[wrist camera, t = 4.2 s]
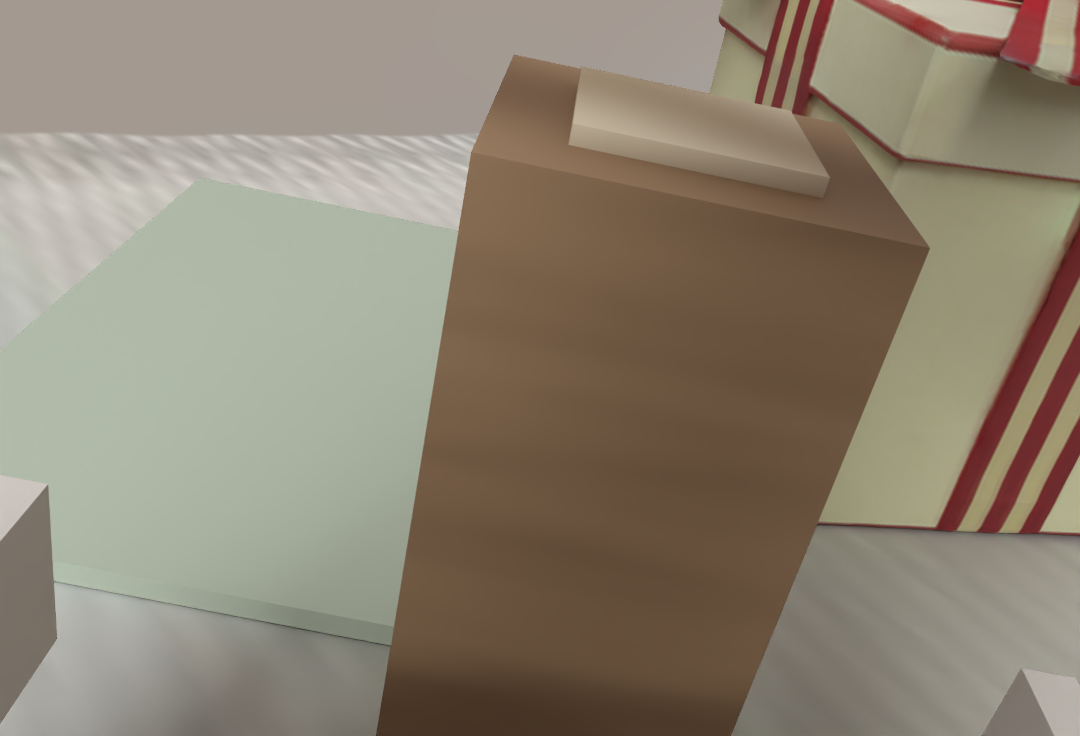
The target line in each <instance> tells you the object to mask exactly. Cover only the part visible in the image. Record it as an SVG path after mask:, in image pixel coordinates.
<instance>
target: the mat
mask: <svg viewBox="0 0 1080 736" xmlns="http://www.w3.org/2000/svg"><path fill="white" fill-rule="evenodd" d="M457 237H458V231H457V230H452V229H447V228H442V227H437V226H432V225H427V224H423V223H418V222H413V221H408V220H403V219H398V218H393V217H389V216H384V215H379V214H374V213H369V212H364V211H359V210H355V209H350V208H345V207H340V206H335V205H330V204H325V203H321V202H316V201H311V200H306V199H301V198H296V197H291V196H286V195H282V194H277V193H272V192H267V191H262V190H257V189H252V188H248V187H243V186H238V185H233V184H228V183H223V182H218V181H214V180H209V179H204V178H199V179H198V180H197V181H196V182H195V183H194V184H192V185H191V186H190V187H189V188H188V189H187V190H185V191H184V192H183V193H182V194H181V195H180V196H178V197H177V198H176V199H175V200H174V201H173V202H172V203H170V204H169V205H168V206H167V207H166V208H165V209H163V210H162V211H161V212H160V213H159V214H158V215H156V216H155V217H154V218H153V219H152V220H151V221H150V222H148V223H147V224H146V225H145V226H144V227H143V228H141V229H140V230H139V231H138V232H137V233H136V234H134V235H133V236H132V237H131V238H130V239H129V240H128V241H126V242H125V243H124V244H123V245H122V246H121V247H119V248H118V249H117V250H116V251H115V252H114V253H112V254H111V255H110V256H109V257H108V258H107V259H106V260H104V261H103V262H102V263H101V264H100V265H99V266H97V267H96V268H95V269H94V270H93V271H92V272H90V273H89V274H88V275H87V276H86V277H85V278H84V279H82V280H81V281H80V282H79V283H78V284H77V285H75V286H74V287H73V288H72V289H71V290H70V291H68V292H67V293H66V294H65V295H64V296H63V297H62V298H60V299H59V300H58V301H57V302H56V303H55V304H53V305H52V306H51V307H50V308H49V309H48V310H46V311H45V312H44V313H43V314H42V315H41V316H40V317H38V318H37V319H36V320H35V321H34V322H33V323H31V324H30V325H29V326H28V327H27V328H26V329H24V330H23V331H22V332H21V333H20V334H19V335H17V336H16V337H15V338H14V339H13V340H12V341H11V342H9V343H8V344H7V345H6V346H5V347H4V348H2V349H1V350H0V475H3V476H8V477H14V478H19V479H24V480H30V481H35V482H40V483H45V484H48V489H49V507H50V524H51V542H52V559H53V577H54V581H56V582H61V583H67V584H72V585H77V586H82V587H87V588H93V589H98V590H103V591H108V592H113V593H119V594H124V595H129V596H134V597H140V598H145V599H150V600H155V601H160V602H166V603H171V604H176V605H181V606H186V607H192V608H197V609H202V610H207V611H212V612H218V613H223V614H228V615H233V616H239V617H244V618H249V619H254V620H259V621H265V622H270V623H275V624H280V625H285V626H291V627H296V628H301V629H306V630H311V631H317V632H322V633H327V634H332V635H338V636H343V637H348V638H353V639H358V640H364V641H369V642H374V643H379V644H384V645H390V646H391V642H392V636H393V630H394V623H395V617H396V611H397V605H398V599H399V593H400V587H401V581H402V574H403V568H404V562H405V556H406V550H407V544H408V538H409V531H410V525H411V519H412V513H413V507H414V501H415V495H416V489H417V482H418V476H419V470H420V464H421V458H422V452H423V446H424V439H425V433H426V427H427V421H428V415H429V409H430V403H431V397H432V390H433V384H434V378H435V372H436V366H437V360H438V354H439V347H440V341H441V335H442V329H443V323H444V317H445V311H446V305H447V298H448V292H449V286H450V280H451V274H452V268H453V262H454V255H455V249H456V243H457Z"/></svg>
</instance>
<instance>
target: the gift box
mask: <svg viewBox="0 0 1080 736" xmlns="http://www.w3.org/2000/svg"><path fill="white" fill-rule="evenodd" d="M719 22H720V24H721V25H722V26H723V27H725V28H726V31H725V35H724V39H723V43H722V47H721V50H720V54H719V58H718V62H717V66H716V70H715V74H714V78H713V82H712V86H711V90H710V93H709V94H714V95H718V96H723V97H728V98H732V99H737V100H742V101H747V102H751V103H756V104H761V105H765V106H770V107H775V108H780V109H784V110H789V111H791V112H792V114H796V115H801V116H805V117H810V118H815V119H819V120H824V121H829V122H834V123H838V124H841V126H842V127H843V128H844V130H845V131H846V132H847V134H848V135H849V137H850V138H851V139H852V141H853V142H854V143H855V145H856V146H857V148H858V149H859V150H860V152H861V153H862V155H863V156H864V157H865V159H866V160H867V161H868V163H869V164H870V166H871V167H872V168H873V170H874V171H875V172H876V174H877V175H878V177H879V178H880V179H881V181H882V182H883V183H884V185H885V186H886V188H887V189H888V190H889V192H890V193H891V195H892V196H893V197H894V199H895V200H896V201H897V203H898V204H899V206H900V207H901V208H902V210H903V211H904V212H905V214H906V215H907V217H908V218H909V219H910V221H911V222H912V223H913V225H914V226H915V228H916V229H917V230H918V232H919V233H920V235H921V236H922V237H923V239H924V240H925V241H926V243H927V244H928V246H929V247H930V250H929V253H928V255H927V257H926V260H925V262H924V265H923V267H922V270H921V272H920V275H919V277H918V279H917V282H916V284H915V287H914V289H913V292H912V294H911V297H910V299H909V301H908V304H907V306H906V309H905V311H904V314H903V316H902V318H901V321H900V323H899V326H898V328H897V331H896V333H895V336H894V338H893V340H892V343H891V345H890V348H889V350H888V353H887V355H886V358H885V360H884V362H883V365H882V367H881V370H880V372H879V375H878V377H877V380H876V382H875V384H874V387H873V389H872V392H871V394H870V397H869V399H868V401H867V404H866V406H865V409H864V411H863V414H862V416H861V419H860V421H859V423H858V426H857V428H856V431H855V433H854V436H853V438H852V441H851V443H850V445H849V448H848V450H847V453H846V455H845V458H844V460H843V463H842V465H841V467H840V470H839V472H838V475H837V477H836V480H835V482H834V484H833V487H832V489H831V492H830V494H829V497H828V499H827V502H826V504H825V506H824V509H823V511H822V514H821V516H820V519H819V521H818V524H826V525H855V526H872V527H891V528H913V529H931V530H940V531H964V532H985V533H1019V534H1024V533H1031V534H1037V533H1042V534H1058V535H1078V536H1080V0H723V2H722V6H721V10H720V14H719Z"/></svg>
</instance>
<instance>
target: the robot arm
mask: <svg viewBox="0 0 1080 736" xmlns="http://www.w3.org/2000/svg"><path fill="white" fill-rule="evenodd" d="M56 640H57V630H56V612H55V594H54V577H53V559H52V542H51V524H50V507H49V489H48V484H45V483H40V482H35V481H30V480H24V479H19V478H14V477H8V476H3V475H0V723H1V722H2V720H3V719H4V717H5V716H6V714H7V713H8V711H9V710H10V708H11V707H12V705H13V704H14V702H15V701H16V699H17V698H18V696H19V695H20V693H21V692H22V690H23V689H24V687H25V686H26V684H27V683H28V681H29V680H30V678H31V677H32V675H33V674H34V672H35V671H36V669H37V668H38V666H39V665H40V663H41V662H42V660H43V659H44V657H45V656H46V654H47V653H48V651H49V650H50V648H51V647H52V645H53V644H54V642H55V641H56ZM982 736H1080V685H1079V683H1078V681H1077V679H1076V678H1072V677H1067V676H1062V675H1057V674H1051V673H1046V672H1041V671H1035V670H1030V669H1025V668H1021V670H1020V671H1019V673H1018V675H1017V676H1016V678H1015V680H1014V682H1013V683H1012V685H1011V687H1010V688H1009V690H1008V692H1007V694H1006V695H1005V697H1004V699H1003V700H1002V702H1001V704H1000V706H999V707H998V709H997V711H996V712H995V714H994V716H993V718H992V719H991V721H990V723H989V724H988V726H987V728H986V730H985V731H984V733H983V735H982Z"/></svg>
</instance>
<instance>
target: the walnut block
mask: <svg viewBox="0 0 1080 736" xmlns="http://www.w3.org/2000/svg"><path fill="white" fill-rule="evenodd" d="M929 250H930V247H929V246H928V244H927V243H926V241H925V240H924V239H923V237H922V236H921V235H920V233H919V232H918V230H917V229H916V228H915V226H914V225H913V223H912V222H911V221H910V219H909V218H908V217H907V215H906V214H905V212H904V211H903V210H902V208H901V207H900V206H899V204H898V203H897V201H896V200H895V199H894V197H893V196H892V195H891V193H890V192H889V190H888V189H887V188H886V186H885V185H884V183H883V182H882V181H881V179H880V178H879V177H878V175H877V174H876V172H875V171H874V170H873V168H872V167H871V166H870V164H869V163H868V161H867V160H866V159H865V157H864V156H863V155H862V153H861V152H860V150H859V149H858V148H857V146H856V145H855V143H854V142H853V141H852V139H851V138H850V137H849V135H848V134H847V132H846V131H845V130H844V128H843V127H842V126H841V124H838V123H834V122H829V121H824V120H819V119H815V118H810V117H805V116H801V115H796V114H792V112H791V111H789V110H784V109H780V108H775V107H770V106H765V105H761V104H756V103H751V102H747V101H742V100H737V99H732V98H728V97H723V96H718V95H714V94H709V93H704V92H700V91H695V90H690V89H685V88H681V87H676V86H671V85H666V84H662V83H657V82H652V81H648V80H643V79H638V78H634V77H629V76H624V75H619V74H614V73H610V72H605V71H601V70H595V69H591V68H586V67H581V69H578V68H574V67H569V66H565V65H560V64H555V63H550V62H546V61H541V60H536V59H531V58H527V57H522V56H518V55H514V56H513V58H512V60H511V63H510V65H509V67H508V70H507V72H506V74H505V77H504V79H503V81H502V83H501V86H500V88H499V90H498V92H497V95H496V97H495V99H494V102H493V104H492V106H491V109H490V111H489V113H488V115H487V118H486V120H485V122H484V125H483V127H482V129H481V131H480V134H479V136H478V138H477V140H476V143H475V145H474V147H473V150H472V152H471V157H470V163H469V170H468V176H467V182H466V188H465V194H464V200H463V206H462V213H461V219H460V225H459V231H458V237H457V243H456V249H455V255H454V262H453V268H452V274H451V280H450V286H449V292H448V298H447V305H446V311H445V317H444V323H443V329H442V335H441V341H440V347H439V354H438V360H437V366H436V372H435V378H434V384H433V390H432V397H431V403H430V409H429V415H428V421H427V427H426V433H425V439H424V446H423V452H422V458H421V464H420V470H419V476H418V482H417V489H416V495H415V501H414V507H413V513H412V519H411V525H410V531H409V538H408V544H407V550H406V556H405V562H404V568H403V574H402V581H401V587H400V593H399V599H398V605H397V611H396V617H395V623H394V630H393V636H392V642H391V648H390V654H389V660H388V666H387V673H386V679H385V685H384V691H383V697H382V703H381V709H380V716H379V722H378V728H377V734H376V736H731V733H732V731H733V729H734V726H735V724H736V721H737V719H738V716H739V714H740V711H741V709H742V707H743V704H744V702H745V699H746V697H747V694H748V692H749V690H750V687H751V685H752V682H753V680H754V677H755V675H756V672H757V670H758V668H759V665H760V663H761V660H762V658H763V655H764V653H765V650H766V648H767V646H768V643H769V641H770V638H771V636H772V633H773V631H774V628H775V626H776V624H777V621H778V619H779V616H780V614H781V611H782V609H783V607H784V604H785V602H786V599H787V597H788V594H789V592H790V589H791V587H792V585H793V582H794V580H795V577H796V575H797V572H798V570H799V567H800V565H801V563H802V560H803V558H804V555H805V553H806V550H807V548H808V546H809V543H810V541H811V538H812V536H813V533H814V531H815V528H816V526H817V524H818V521H819V519H820V516H821V514H822V511H823V509H824V506H825V504H826V502H827V499H828V497H829V494H830V492H831V489H832V487H833V484H834V482H835V480H836V477H837V475H838V472H839V470H840V467H841V465H842V463H843V460H844V458H845V455H846V453H847V450H848V448H849V445H850V443H851V441H852V438H853V436H854V433H855V431H856V428H857V426H858V423H859V421H860V419H861V416H862V414H863V411H864V409H865V406H866V404H867V401H868V399H869V397H870V394H871V392H872V389H873V387H874V384H875V382H876V380H877V377H878V375H879V372H880V370H881V367H882V365H883V362H884V360H885V358H886V355H887V353H888V350H889V348H890V345H891V343H892V340H893V338H894V336H895V333H896V331H897V328H898V326H899V323H900V321H901V318H902V316H903V314H904V311H905V309H906V306H907V304H908V301H909V299H910V297H911V294H912V292H913V289H914V287H915V284H916V282H917V279H918V277H919V275H920V272H921V270H922V267H923V265H924V262H925V260H926V257H927V255H928V253H929Z"/></svg>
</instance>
